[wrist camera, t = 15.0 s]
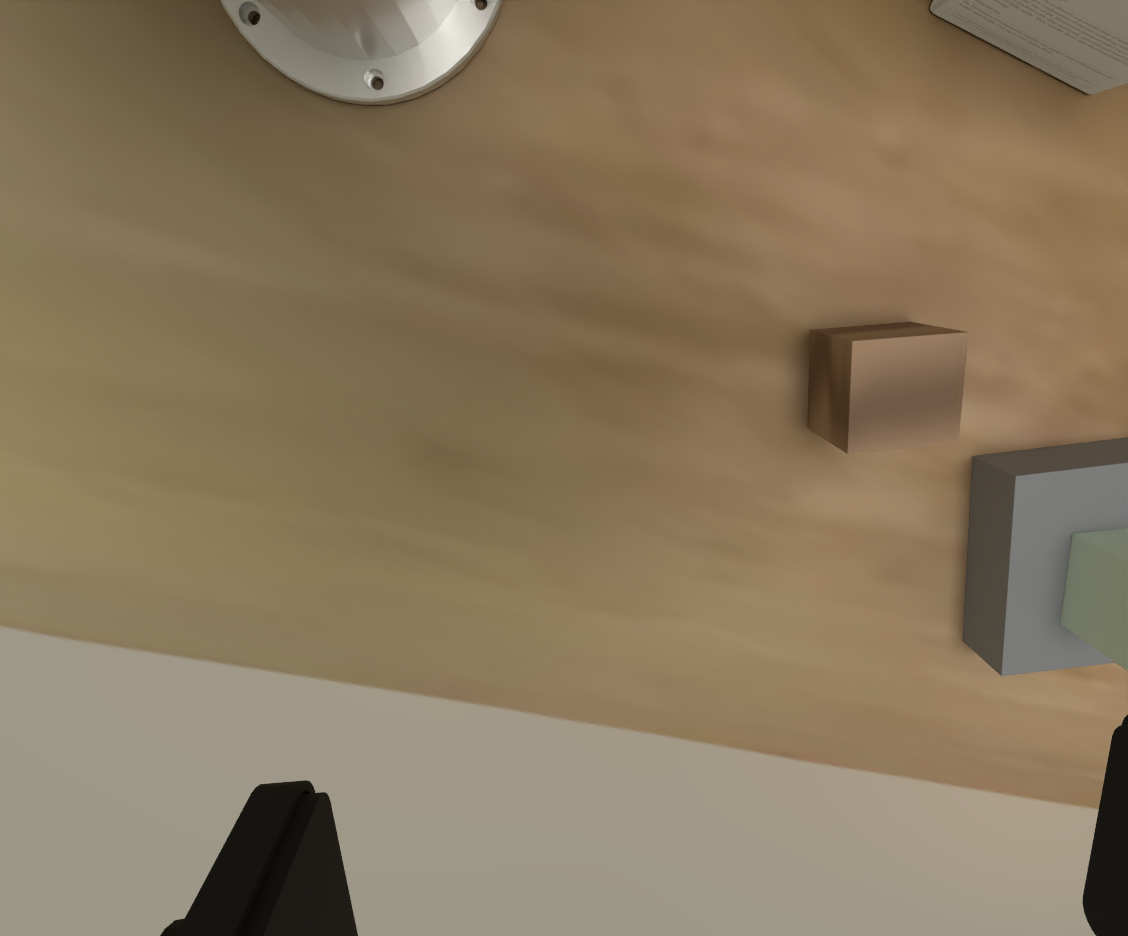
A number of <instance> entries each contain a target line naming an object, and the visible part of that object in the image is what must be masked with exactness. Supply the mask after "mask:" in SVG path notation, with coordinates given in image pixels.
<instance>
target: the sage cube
mask: <svg viewBox="0 0 1128 936" xmlns="http://www.w3.org/2000/svg"><path fill="white" fill-rule="evenodd" d="M1060 624H1061V625H1062V626H1064V627H1065V628H1067V629H1068V630H1069V631H1071V632H1072V633H1074V634H1075V635H1077V636H1078V637H1079V638H1081V639H1082V640H1084V641H1085V642H1087V643H1088V644H1089V645H1091V646H1092V647H1094V648H1095V649H1097V650H1098V651H1099V652H1101V653H1102V654H1104V655H1105V656H1107V657H1108V658H1109V659H1111V660H1112V661H1114V662H1115V663H1116V664H1118V665H1119V666H1121V667H1122V668H1124V669H1125V670H1126V671H1128V528H1124V529H1113V530H1102V531H1091V532H1081V533H1073V534H1072V542H1071V549H1070V557H1069V564H1068V571H1067V579H1066V586H1065V593H1064V601H1063V608H1062V615H1061V623H1060Z"/></svg>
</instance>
